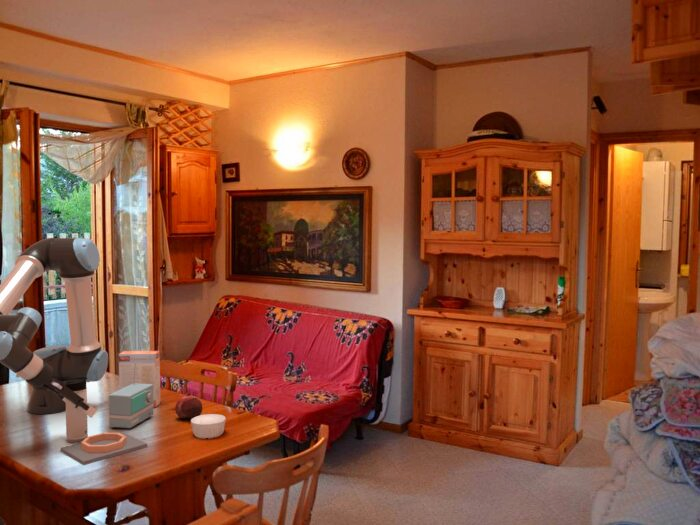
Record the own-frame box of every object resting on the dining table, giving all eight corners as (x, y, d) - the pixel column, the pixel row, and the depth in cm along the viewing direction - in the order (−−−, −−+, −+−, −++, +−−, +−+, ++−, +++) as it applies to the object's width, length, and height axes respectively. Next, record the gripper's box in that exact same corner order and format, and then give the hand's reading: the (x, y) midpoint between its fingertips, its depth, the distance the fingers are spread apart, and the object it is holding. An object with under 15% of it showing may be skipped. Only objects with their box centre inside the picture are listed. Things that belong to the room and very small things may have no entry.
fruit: (199, 422, 218) (199, 394, 217) (172, 422, 218) (172, 394, 217) (205, 414, 227) (205, 387, 226) (179, 414, 227) (179, 387, 226)
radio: (133, 431, 208) (132, 372, 207) (109, 429, 210) (107, 371, 209) (156, 416, 224) (156, 362, 223) (134, 415, 226) (133, 361, 225)
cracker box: (161, 403, 240) (160, 350, 239) (155, 408, 234) (155, 353, 233) (125, 403, 240) (124, 349, 239) (119, 407, 234) (118, 353, 233)
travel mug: (92, 439, 200) (91, 378, 199) (71, 444, 195) (70, 382, 194) (83, 434, 204) (82, 375, 203) (63, 440, 199) (61, 378, 198)
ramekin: (185, 433, 206) (185, 418, 206) (215, 426, 214) (215, 411, 213) (200, 442, 198) (200, 426, 198) (231, 435, 205) (231, 419, 205)
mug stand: (60, 451, 190) (60, 441, 189) (122, 434, 204) (121, 425, 204) (83, 464, 179) (83, 454, 179) (147, 446, 194) (147, 437, 193)
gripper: (11, 374, 194) (64, 413, 207) (40, 387, 179) (94, 428, 192) (29, 355, 198) (79, 394, 211) (58, 366, 183) (110, 407, 196)
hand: (86, 410), depth 201 cm, fingers open, 9 cm apart
